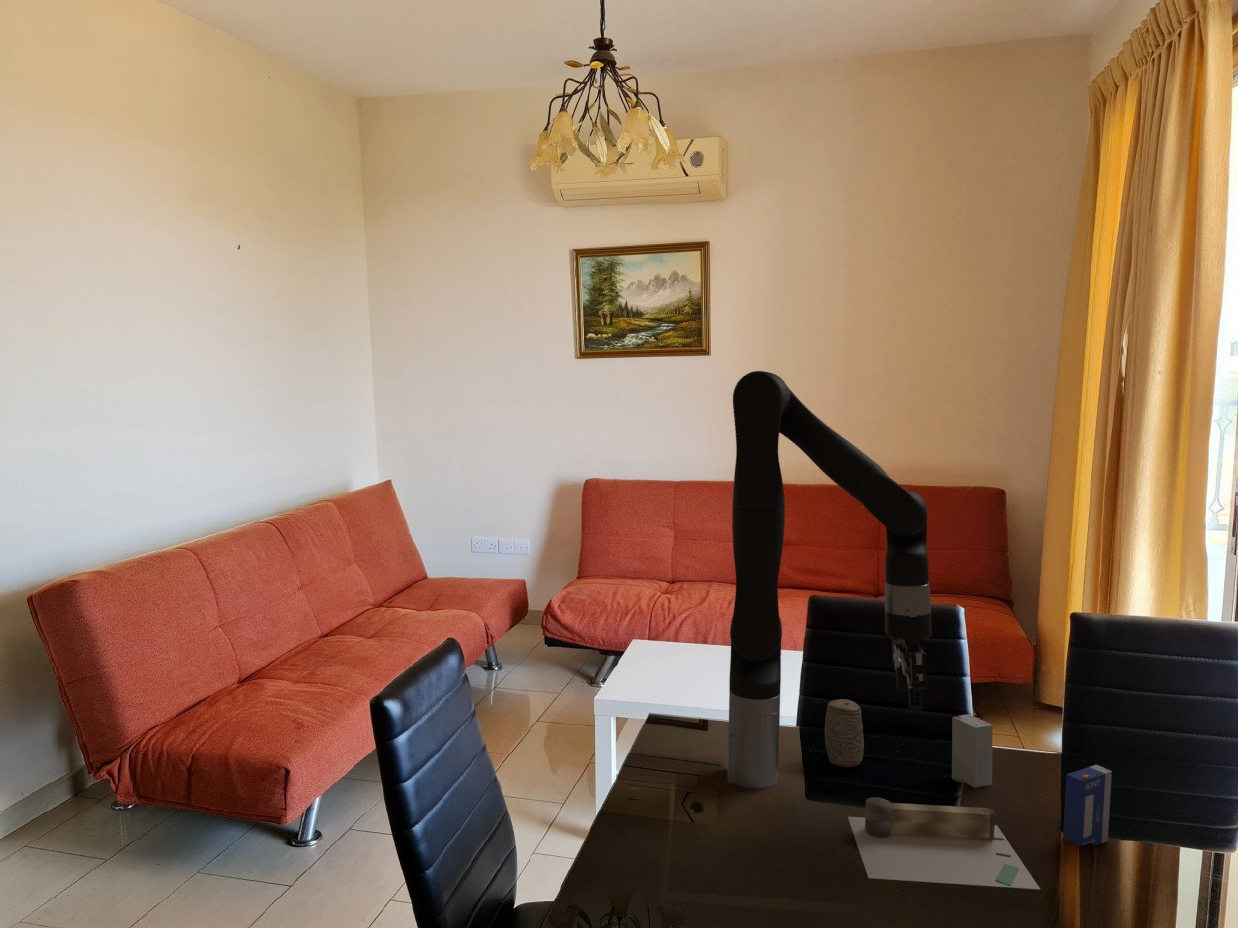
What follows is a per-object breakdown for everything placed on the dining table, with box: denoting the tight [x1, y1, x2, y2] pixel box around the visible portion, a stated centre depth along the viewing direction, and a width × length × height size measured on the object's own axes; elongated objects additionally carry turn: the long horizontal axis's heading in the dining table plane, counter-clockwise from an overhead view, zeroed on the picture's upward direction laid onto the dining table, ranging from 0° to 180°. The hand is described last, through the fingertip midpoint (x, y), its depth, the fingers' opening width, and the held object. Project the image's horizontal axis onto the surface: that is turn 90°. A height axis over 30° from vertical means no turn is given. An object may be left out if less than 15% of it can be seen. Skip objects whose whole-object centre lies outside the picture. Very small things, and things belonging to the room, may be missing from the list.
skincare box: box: [951, 713, 994, 789], centre depth 154 cm, size 6×4×12 cm
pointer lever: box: [864, 797, 996, 839], centre depth 134 cm, size 20×4×4 cm, turn 84°
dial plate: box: [847, 816, 1041, 891], centre depth 130 cm, size 24×18×1 cm
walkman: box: [1062, 764, 1113, 848], centre depth 134 cm, size 8×3×12 cm, turn 118°
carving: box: [824, 698, 865, 768], centre depth 162 cm, size 6×8×12 cm
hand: (909, 700), depth 144 cm, fingers open, 8 cm apart
